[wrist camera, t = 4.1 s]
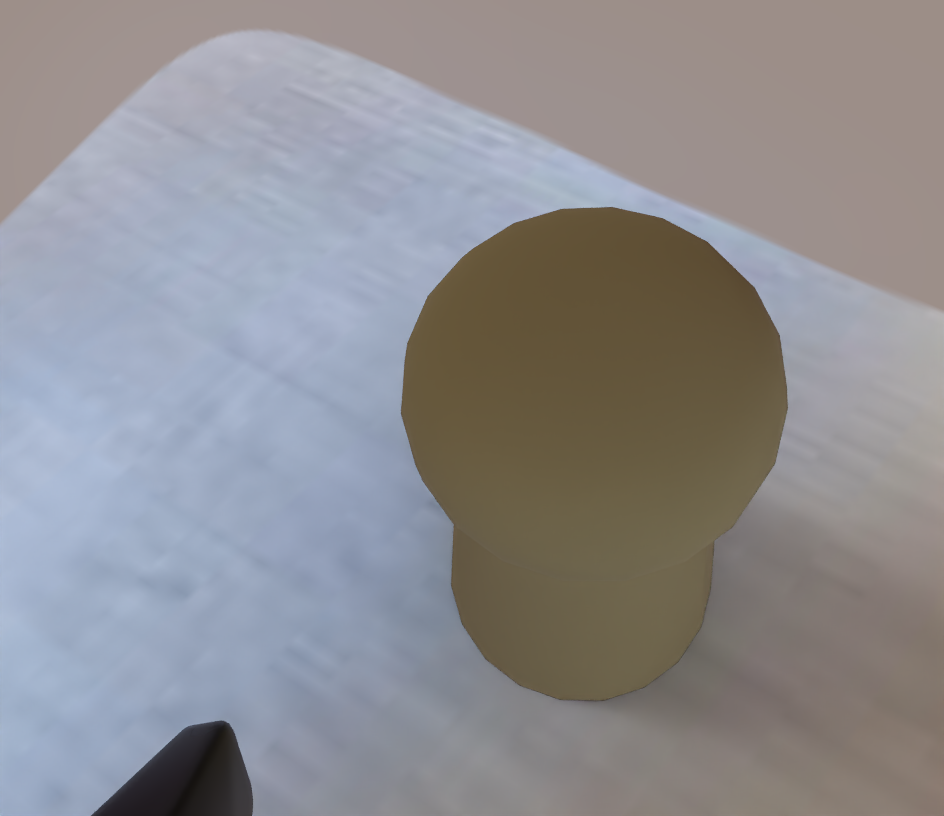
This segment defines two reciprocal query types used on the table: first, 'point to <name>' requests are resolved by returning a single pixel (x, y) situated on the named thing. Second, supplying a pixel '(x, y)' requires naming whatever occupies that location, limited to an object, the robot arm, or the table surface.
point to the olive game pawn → (591, 439)
